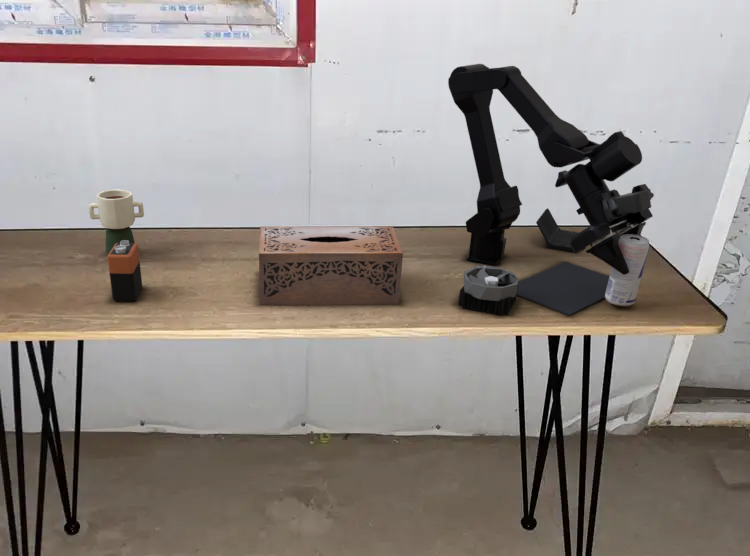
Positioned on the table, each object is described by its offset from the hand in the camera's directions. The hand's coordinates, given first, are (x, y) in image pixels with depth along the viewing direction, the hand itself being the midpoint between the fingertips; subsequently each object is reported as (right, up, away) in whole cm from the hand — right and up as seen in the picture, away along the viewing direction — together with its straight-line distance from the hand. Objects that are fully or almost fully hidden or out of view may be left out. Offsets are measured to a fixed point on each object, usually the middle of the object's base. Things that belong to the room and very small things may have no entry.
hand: (634, 269), depth 139 cm
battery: (-93, -4, +6) cm, 93 cm away
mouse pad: (-8, -2, +12) cm, 14 cm away
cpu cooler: (-25, -6, +5) cm, 27 cm away
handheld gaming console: (-3, +11, +34) cm, 36 cm away
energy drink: (-1, -5, +4) cm, 7 cm away
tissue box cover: (-55, -2, +10) cm, 56 cm away
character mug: (-98, +6, +24) cm, 101 cm away
